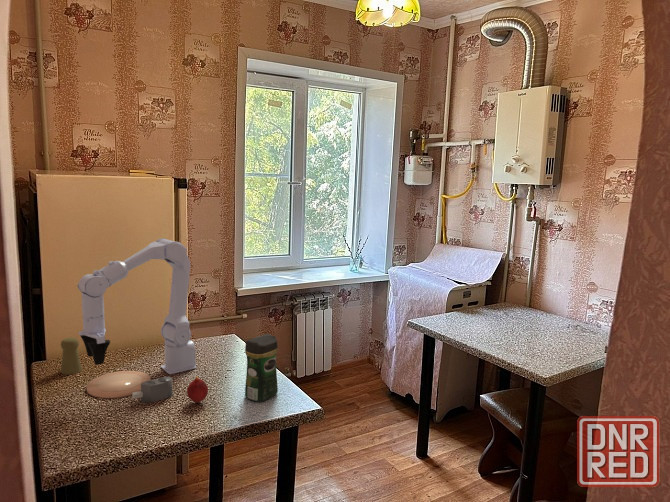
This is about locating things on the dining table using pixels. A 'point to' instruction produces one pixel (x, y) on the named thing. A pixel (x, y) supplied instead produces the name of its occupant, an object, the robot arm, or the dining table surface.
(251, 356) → the coffee jar
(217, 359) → the dining table surface
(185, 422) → the dining table surface
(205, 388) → the onion
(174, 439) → the dining table surface
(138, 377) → the plate
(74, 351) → the cork
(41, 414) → the dining table surface
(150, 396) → the connector
